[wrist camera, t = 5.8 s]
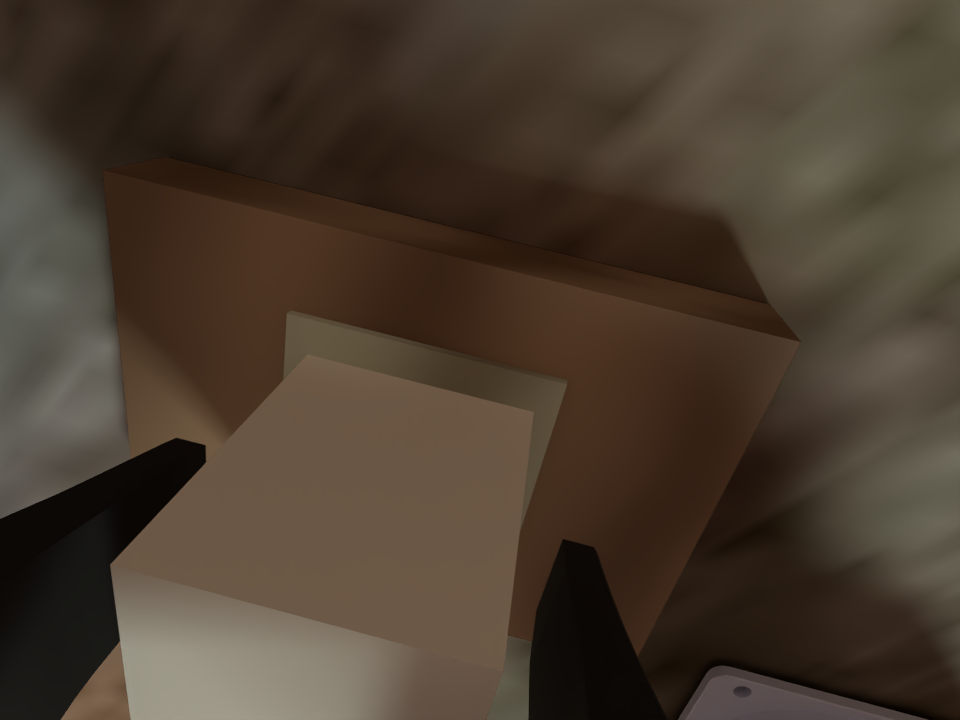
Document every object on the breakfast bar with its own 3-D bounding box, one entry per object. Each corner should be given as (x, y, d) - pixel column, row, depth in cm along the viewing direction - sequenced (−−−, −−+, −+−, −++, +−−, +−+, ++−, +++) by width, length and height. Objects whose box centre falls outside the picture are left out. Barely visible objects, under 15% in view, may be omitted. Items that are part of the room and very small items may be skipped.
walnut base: (770, 304, 13) (804, 346, 11) (626, 607, 17) (632, 675, 15) (165, 156, 13) (94, 171, 11) (181, 489, 18) (133, 540, 16)
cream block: (534, 411, 12) (502, 671, 7) (485, 575, 15) (434, 863, 9) (307, 354, 12) (110, 565, 7) (295, 525, 15) (138, 779, 10)
